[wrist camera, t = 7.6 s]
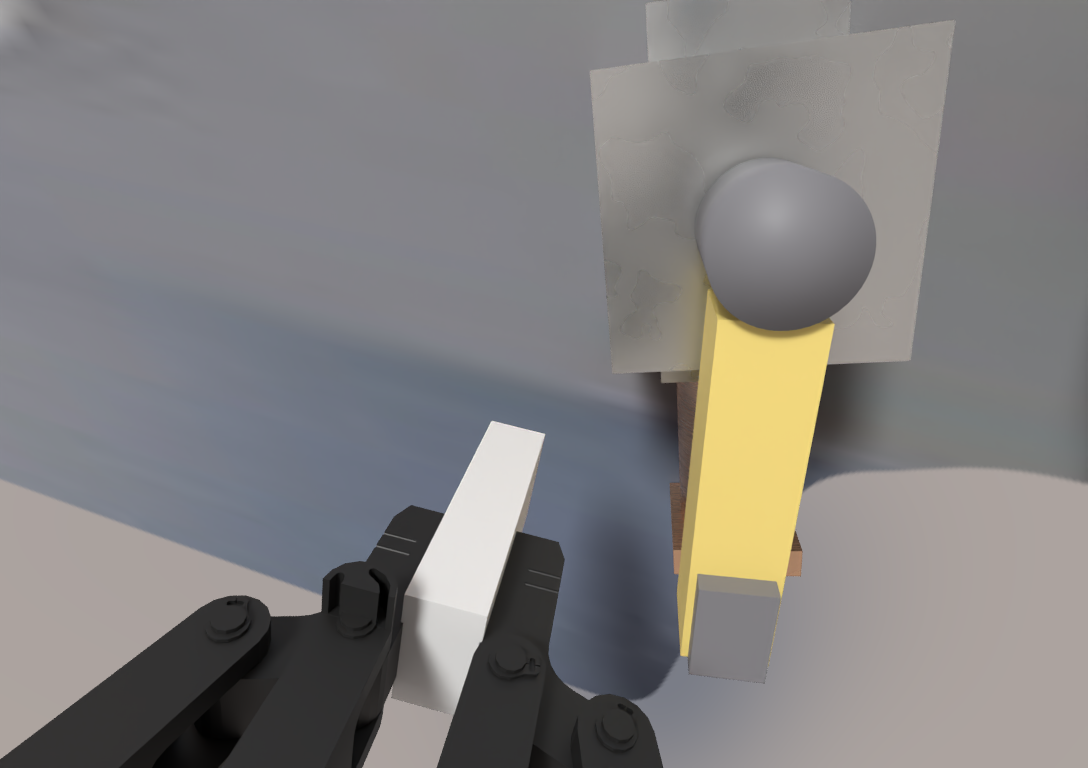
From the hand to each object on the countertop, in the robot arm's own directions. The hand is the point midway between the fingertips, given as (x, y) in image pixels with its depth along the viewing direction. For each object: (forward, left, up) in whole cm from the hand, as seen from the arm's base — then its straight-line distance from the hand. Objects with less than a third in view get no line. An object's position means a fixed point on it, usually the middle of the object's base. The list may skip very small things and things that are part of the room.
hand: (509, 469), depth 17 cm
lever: (-6, -1, -2) cm, 7 cm away
